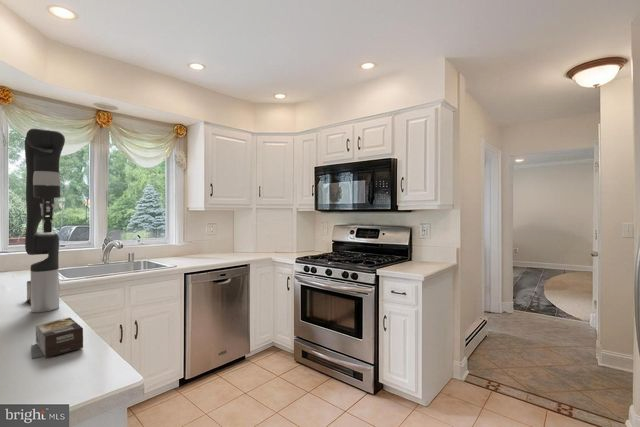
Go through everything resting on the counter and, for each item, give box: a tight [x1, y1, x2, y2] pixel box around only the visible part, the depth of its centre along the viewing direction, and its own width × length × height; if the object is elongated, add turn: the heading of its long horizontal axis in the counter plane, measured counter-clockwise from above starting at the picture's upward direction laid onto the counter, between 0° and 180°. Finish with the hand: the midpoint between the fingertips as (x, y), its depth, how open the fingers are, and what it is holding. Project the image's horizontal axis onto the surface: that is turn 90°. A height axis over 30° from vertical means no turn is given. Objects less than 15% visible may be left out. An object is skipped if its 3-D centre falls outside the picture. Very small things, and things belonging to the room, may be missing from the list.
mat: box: [31, 343, 45, 360], centre depth 99 cm, size 12×10×1 cm
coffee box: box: [35, 317, 84, 358], centre depth 100 cm, size 9×6×16 cm
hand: (47, 232), depth 116 cm, fingers closed
